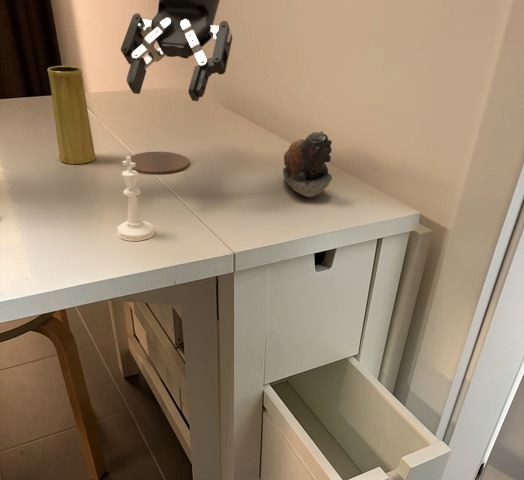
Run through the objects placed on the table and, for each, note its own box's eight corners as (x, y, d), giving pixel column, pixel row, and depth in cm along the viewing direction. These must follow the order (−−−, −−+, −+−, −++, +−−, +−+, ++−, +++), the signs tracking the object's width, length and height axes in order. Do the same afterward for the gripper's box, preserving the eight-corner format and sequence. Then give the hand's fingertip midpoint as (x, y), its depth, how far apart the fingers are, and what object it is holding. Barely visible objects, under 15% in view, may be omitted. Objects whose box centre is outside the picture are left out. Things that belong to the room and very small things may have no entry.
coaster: (147, 178, 90) (147, 176, 90) (113, 160, 97) (113, 158, 96) (202, 166, 96) (202, 163, 96) (166, 150, 103) (166, 147, 102)
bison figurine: (274, 178, 93) (277, 115, 87) (313, 176, 94) (319, 114, 88) (294, 205, 84) (300, 136, 78) (338, 203, 85) (347, 135, 79)
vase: (88, 151, 100) (75, 64, 91) (101, 161, 96) (90, 70, 88) (54, 156, 97) (38, 66, 88) (67, 166, 93) (52, 73, 85)
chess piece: (138, 244, 71) (130, 166, 65) (108, 235, 73) (98, 158, 67) (162, 231, 74) (157, 155, 68) (133, 222, 76) (125, 148, 70)
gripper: (135, -41, 73) (101, 69, 71) (237, -35, 70) (205, 81, 68) (156, 3, 80) (126, 105, 78) (249, 11, 77) (221, 116, 75)
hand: (163, 93), depth 73 cm, fingers open, 8 cm apart
